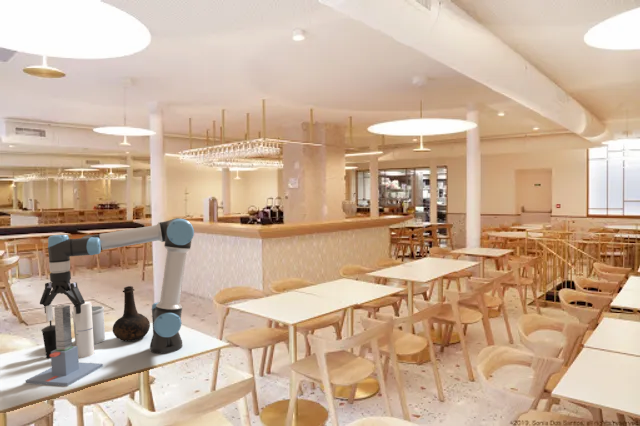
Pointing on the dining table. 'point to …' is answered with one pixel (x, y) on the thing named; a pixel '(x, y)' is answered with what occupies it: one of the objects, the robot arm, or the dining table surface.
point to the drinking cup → (49, 339)
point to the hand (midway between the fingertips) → (63, 321)
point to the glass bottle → (130, 320)
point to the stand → (64, 369)
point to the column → (63, 328)
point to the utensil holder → (96, 324)
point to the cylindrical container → (85, 331)
